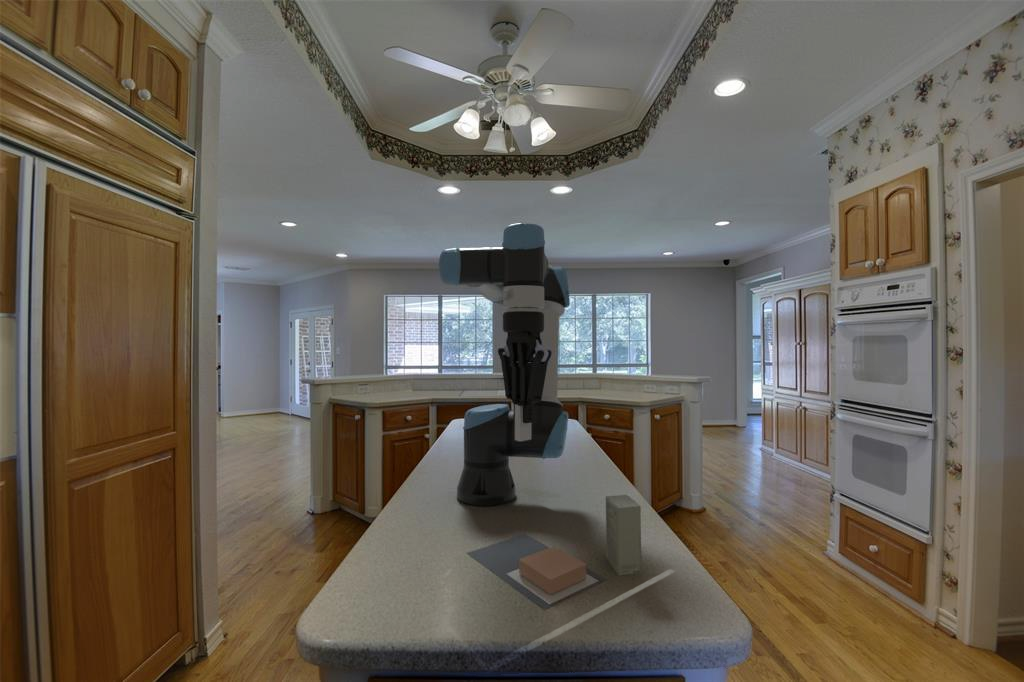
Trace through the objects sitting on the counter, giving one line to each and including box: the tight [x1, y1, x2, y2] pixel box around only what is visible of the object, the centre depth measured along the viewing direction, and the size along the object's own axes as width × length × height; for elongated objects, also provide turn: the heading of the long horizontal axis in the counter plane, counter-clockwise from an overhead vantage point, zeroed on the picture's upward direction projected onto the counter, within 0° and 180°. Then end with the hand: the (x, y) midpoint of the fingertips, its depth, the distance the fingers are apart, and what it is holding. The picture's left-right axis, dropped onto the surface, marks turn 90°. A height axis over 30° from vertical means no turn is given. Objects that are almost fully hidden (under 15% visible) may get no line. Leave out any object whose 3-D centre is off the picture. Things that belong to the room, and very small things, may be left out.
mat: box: [466, 533, 608, 611], centre depth 81 cm, size 22×14×1 cm, turn 37°
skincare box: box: [605, 494, 643, 576], centre depth 81 cm, size 6×4×12 cm
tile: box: [519, 546, 587, 595], centre depth 77 cm, size 3×8×8 cm
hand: (523, 439), depth 83 cm, fingers closed
